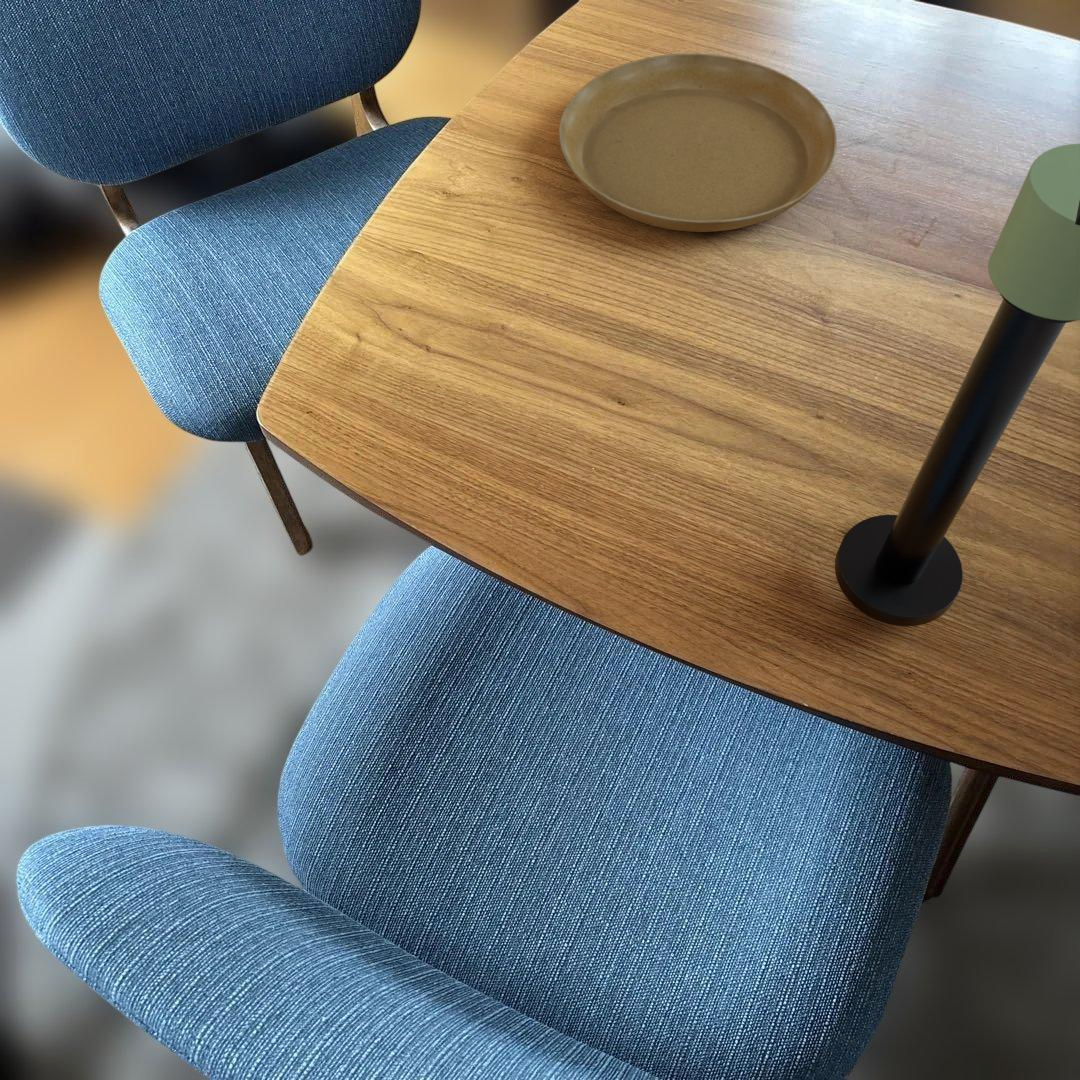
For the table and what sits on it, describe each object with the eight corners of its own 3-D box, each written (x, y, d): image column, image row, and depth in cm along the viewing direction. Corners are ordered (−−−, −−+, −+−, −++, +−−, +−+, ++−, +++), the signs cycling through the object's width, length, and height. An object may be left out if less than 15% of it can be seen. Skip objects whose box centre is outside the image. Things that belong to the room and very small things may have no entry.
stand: (981, 601, 67) (1184, 309, 46) (877, 643, 66) (1035, 362, 44) (912, 509, 72) (1067, 201, 50) (812, 547, 70) (927, 245, 48)
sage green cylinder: (1142, 299, 46) (1200, 208, 42) (1039, 335, 45) (1088, 245, 41) (1061, 223, 49) (1109, 130, 45) (962, 255, 48) (1001, 163, 44)
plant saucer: (520, 117, 97) (519, 84, 94) (750, 60, 101) (755, 28, 98) (623, 283, 84) (625, 252, 81) (880, 211, 89) (890, 178, 86)
